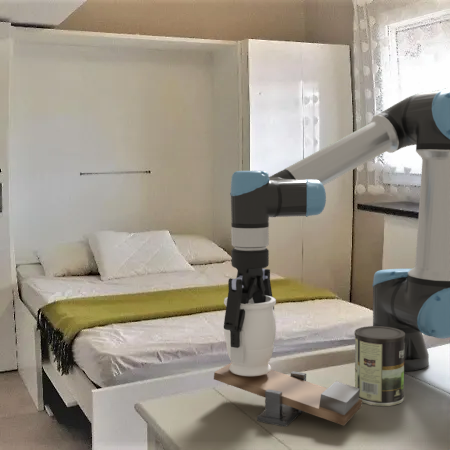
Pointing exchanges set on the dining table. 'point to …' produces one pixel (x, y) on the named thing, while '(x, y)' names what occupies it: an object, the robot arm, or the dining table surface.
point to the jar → (255, 338)
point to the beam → (300, 393)
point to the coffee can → (379, 365)
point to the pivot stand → (279, 407)
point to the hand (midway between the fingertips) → (250, 354)
